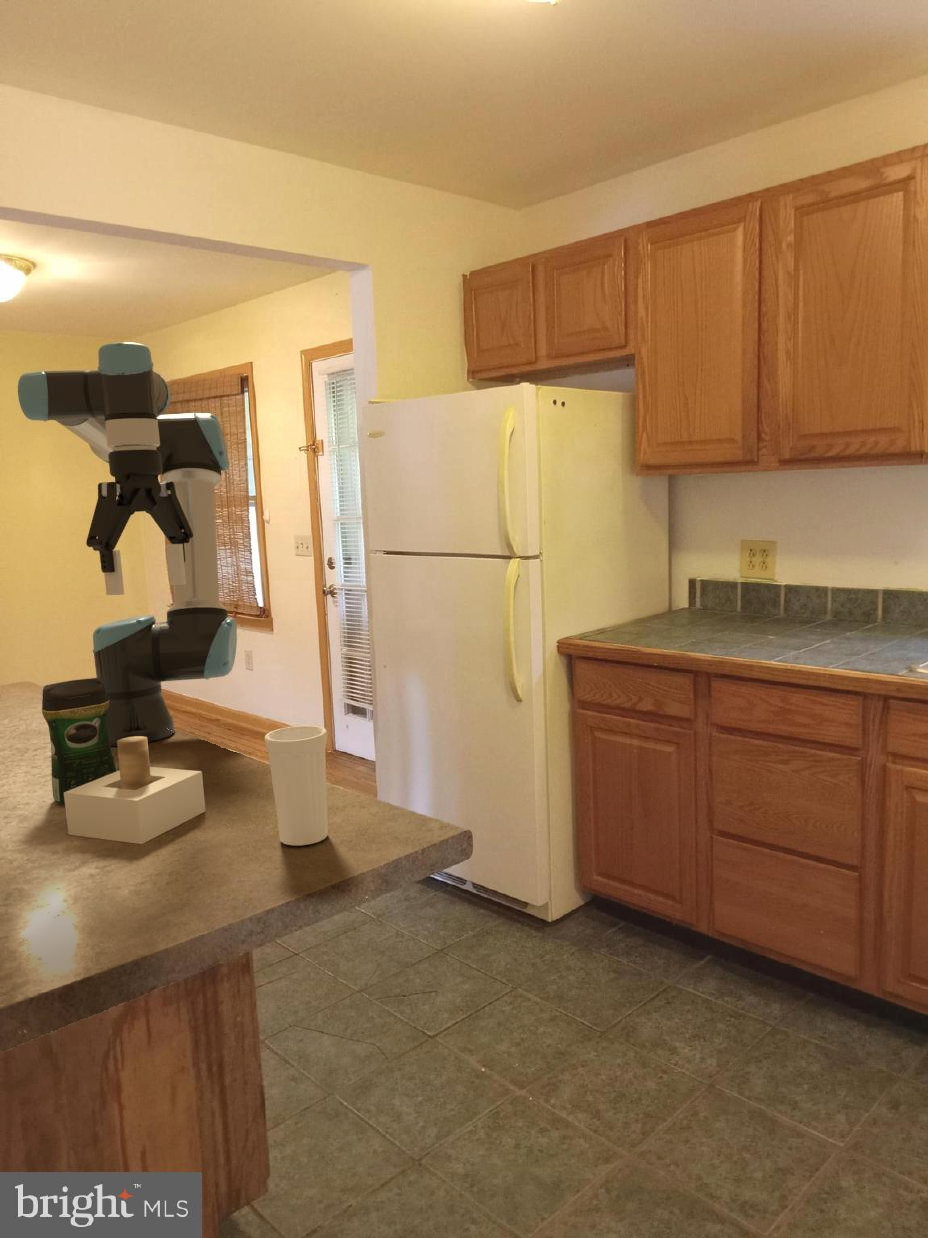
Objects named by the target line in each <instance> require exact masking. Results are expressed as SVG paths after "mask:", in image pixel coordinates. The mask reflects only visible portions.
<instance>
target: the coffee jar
mask: <svg viewBox="0 0 928 1238" xmlns="http://www.w3.org/2000/svg"><path fill="white" fill-rule="evenodd" d="M41 696H42V700H41V701H42V702H41V703H42V704H41V712H42V716H43V718H44V720H45V722H46V723H47V726H48V731H49V740H50V752H51V753H50V755H51V757H50V758H51V789H52V799H53V800H54V801H55V803H57V804H58V805H64V806H65V800H64V792H67V791H69V790H72V789H74V788H77V787H79V786H82V785H84V784H87V783H89V782H92V781H94V780H97V779H99V778H102V777H104V776H107V775H109V774H112V773H114V772H117V771H118V770H117V767H116V762H115V758H114V754H113V751H112V746H111V745H110V740H109V735H108V728H107V719H106V717H107V712H108V709H109V700H108V696H107V692H106V689H105V686H104V683H103V681H102V680H100V679H98V678H97V677H92V678H82V679H80V678H79V679H74V680H73V679H71V680H66V681H62V682H56V683H51V684H46V685H44V687H43V689H42V695H41Z"/></svg>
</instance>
